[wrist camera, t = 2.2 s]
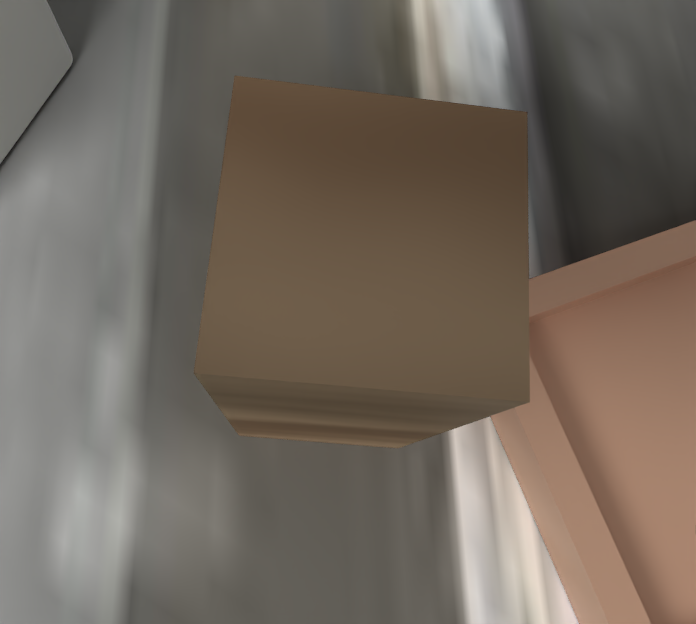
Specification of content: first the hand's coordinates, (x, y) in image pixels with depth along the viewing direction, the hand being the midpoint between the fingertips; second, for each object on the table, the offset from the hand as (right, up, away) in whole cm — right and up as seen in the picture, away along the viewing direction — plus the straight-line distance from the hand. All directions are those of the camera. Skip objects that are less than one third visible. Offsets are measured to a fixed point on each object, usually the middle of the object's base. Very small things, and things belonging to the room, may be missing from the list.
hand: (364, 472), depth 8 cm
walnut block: (-1, 0, +11) cm, 11 cm away
